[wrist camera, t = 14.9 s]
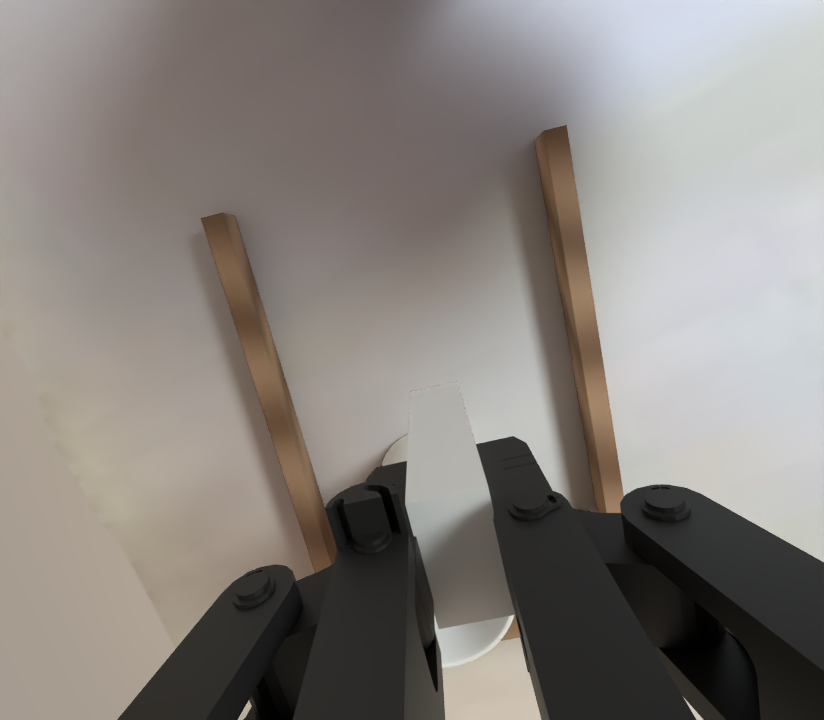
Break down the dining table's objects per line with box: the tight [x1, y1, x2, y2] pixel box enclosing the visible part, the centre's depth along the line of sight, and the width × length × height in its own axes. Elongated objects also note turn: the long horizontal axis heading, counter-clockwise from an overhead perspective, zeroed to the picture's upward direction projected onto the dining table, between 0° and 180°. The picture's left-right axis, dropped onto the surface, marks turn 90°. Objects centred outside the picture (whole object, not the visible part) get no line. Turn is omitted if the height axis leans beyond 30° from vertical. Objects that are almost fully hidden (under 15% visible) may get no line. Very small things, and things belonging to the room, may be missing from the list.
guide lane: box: [201, 125, 624, 573], centre depth 29 cm, size 24×20×2 cm
